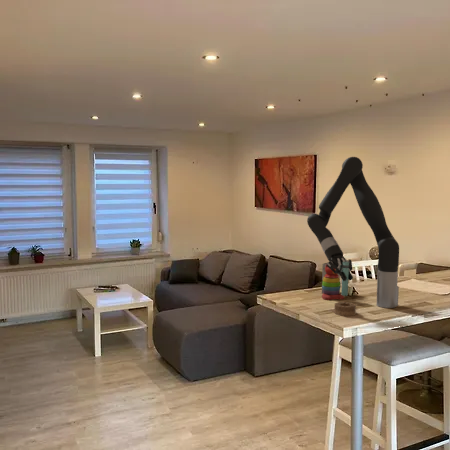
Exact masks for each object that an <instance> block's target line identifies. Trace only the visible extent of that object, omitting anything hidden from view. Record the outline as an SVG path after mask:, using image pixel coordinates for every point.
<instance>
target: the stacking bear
mask: <svg viewBox="0 0 450 450" xmlns="http://www.w3.org/2000/svg"><path fill="white" fill-rule="evenodd" d="M334 270H335V269H334ZM325 272H326V275H325V276H324V278H323V282H322V281H321V290H322V289H323V293H321V294H322V295H321V298H322V299H323V300H324V301H325V300H326V301H332V300H339V301H340V300H341V301H342V300H344V299H345V297H344V296H343V295H341V288H342V282H341V280H340V279H341V277H340V275H339V276H338V275H337V273H336V274H335V273H334V272H333V271H332V270H331V269H330V268H329V267H328V266H327V264H326V267H325Z"/></svg>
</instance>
